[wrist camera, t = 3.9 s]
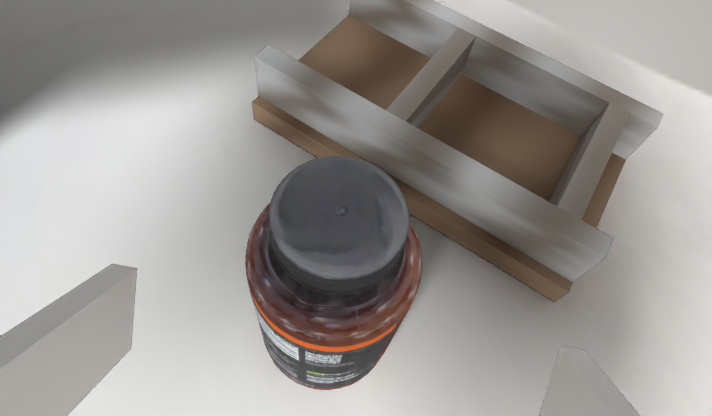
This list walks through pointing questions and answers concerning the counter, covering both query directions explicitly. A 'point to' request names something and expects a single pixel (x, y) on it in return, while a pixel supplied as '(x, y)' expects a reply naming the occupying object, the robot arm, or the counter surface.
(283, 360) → the supplement bottle
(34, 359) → the robot arm
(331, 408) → the counter surface
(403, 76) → the wooden divided tray
